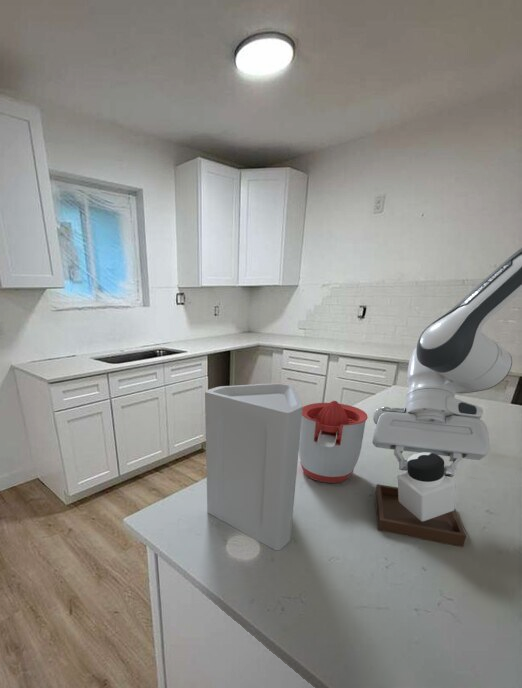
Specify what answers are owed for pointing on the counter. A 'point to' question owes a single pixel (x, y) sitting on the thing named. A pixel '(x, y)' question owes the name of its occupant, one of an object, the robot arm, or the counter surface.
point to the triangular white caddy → (253, 458)
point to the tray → (415, 520)
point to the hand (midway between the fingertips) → (425, 472)
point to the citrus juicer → (330, 440)
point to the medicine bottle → (426, 487)
